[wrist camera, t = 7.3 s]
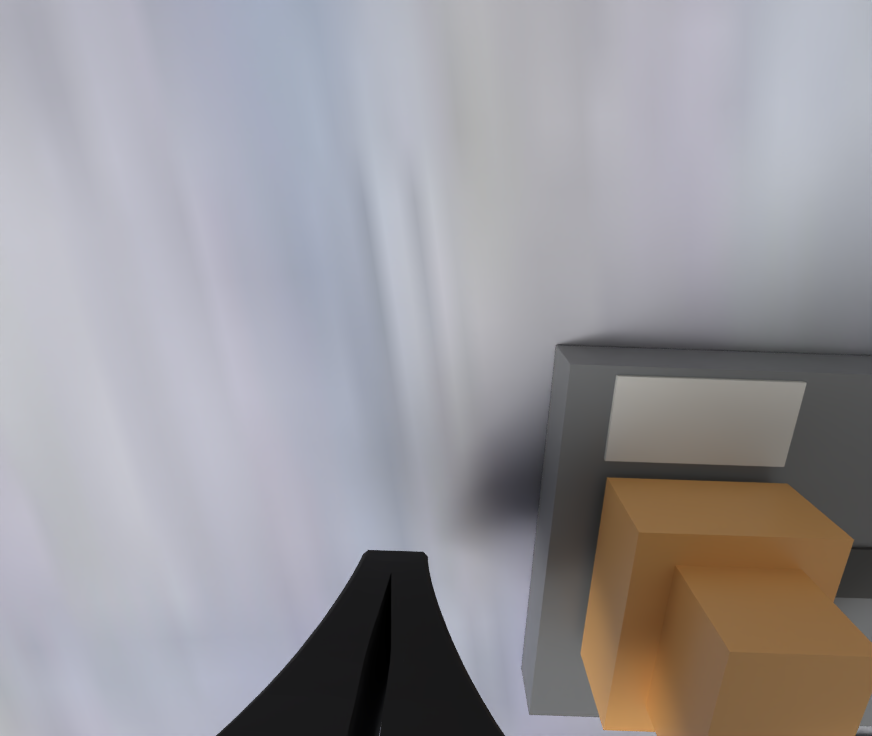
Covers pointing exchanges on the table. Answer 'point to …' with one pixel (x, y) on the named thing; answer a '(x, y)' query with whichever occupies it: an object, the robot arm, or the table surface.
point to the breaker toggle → (721, 613)
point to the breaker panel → (687, 471)
